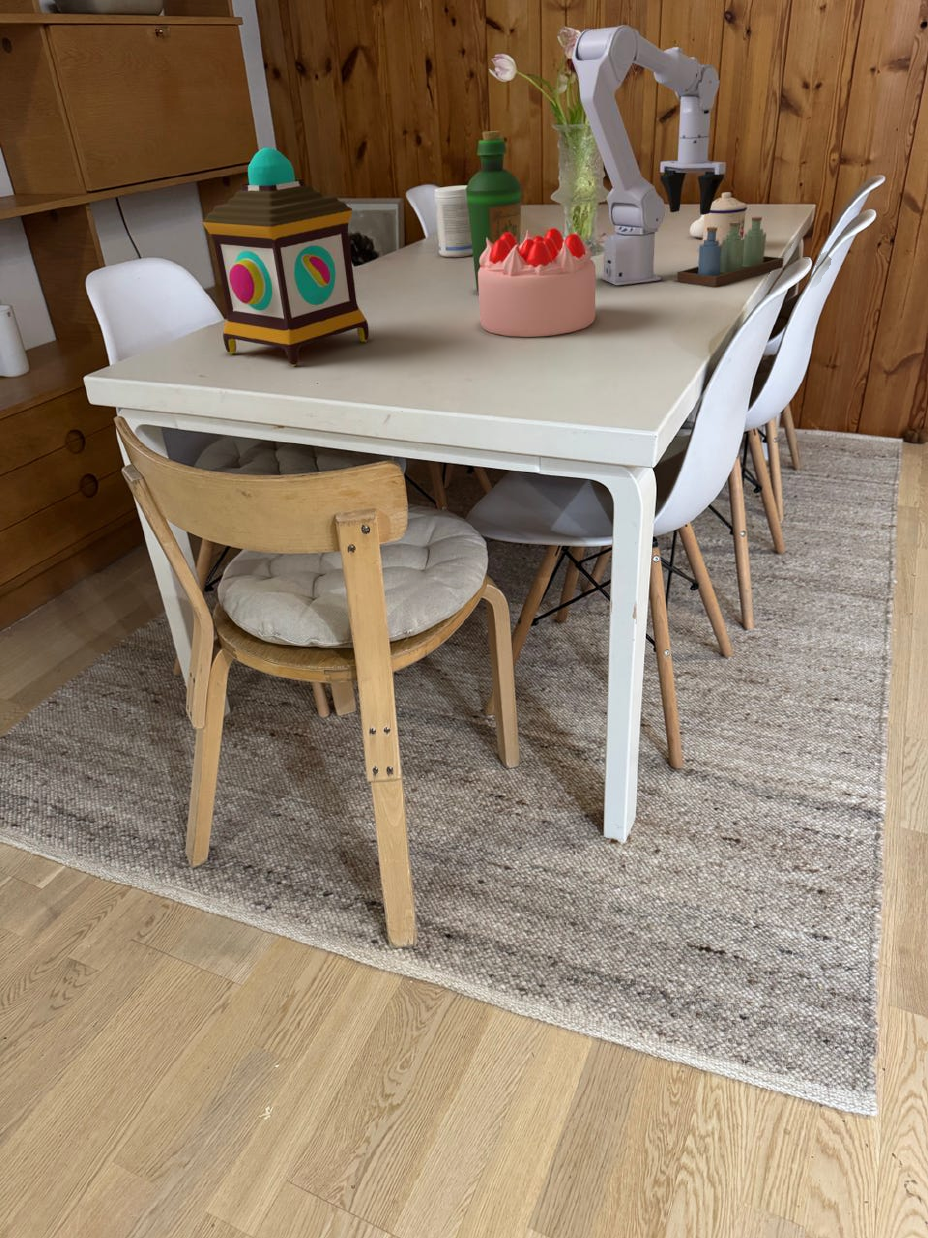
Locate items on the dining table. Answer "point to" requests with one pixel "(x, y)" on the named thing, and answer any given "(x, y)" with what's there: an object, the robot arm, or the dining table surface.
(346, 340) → the dining table surface
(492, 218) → the bottle
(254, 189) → the decorative lantern
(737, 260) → the green bottle mid
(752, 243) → the green bottle far
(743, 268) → the tray
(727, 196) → the cream enamel lidded pot
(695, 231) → the garlic bulb
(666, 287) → the dining table surface
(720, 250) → the blue bottle
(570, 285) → the cake
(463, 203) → the supplement tub
